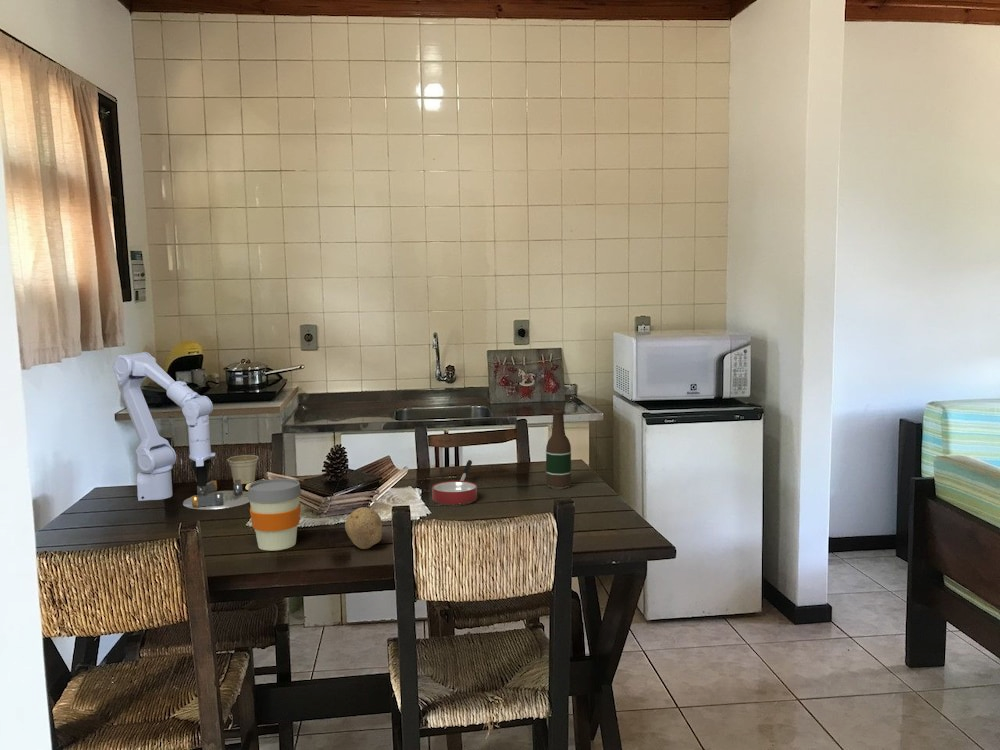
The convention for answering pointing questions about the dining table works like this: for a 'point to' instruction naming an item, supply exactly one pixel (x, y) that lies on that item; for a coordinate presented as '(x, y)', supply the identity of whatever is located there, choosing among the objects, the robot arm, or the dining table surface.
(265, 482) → the reusable coffee cup
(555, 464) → the beer bottle
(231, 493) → the plate
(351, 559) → the dining table surface
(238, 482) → the knob right
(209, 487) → the knob left
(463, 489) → the frying pan
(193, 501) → the knob front
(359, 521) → the potato
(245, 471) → the flower pot
